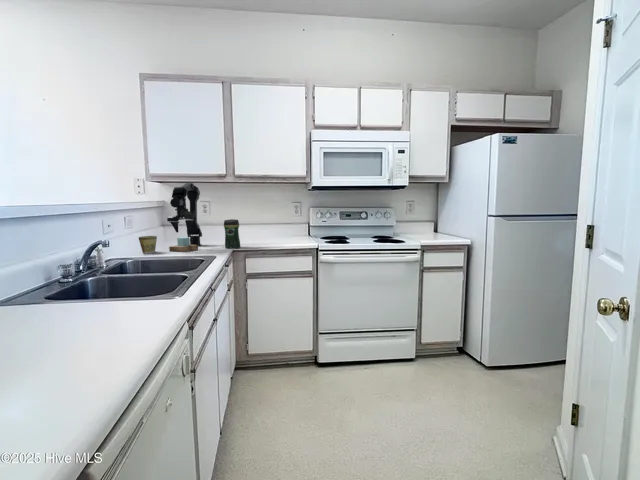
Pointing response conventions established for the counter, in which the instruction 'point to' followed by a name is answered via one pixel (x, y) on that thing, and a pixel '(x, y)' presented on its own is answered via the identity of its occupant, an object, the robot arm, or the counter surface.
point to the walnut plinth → (183, 248)
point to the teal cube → (183, 241)
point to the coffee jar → (231, 233)
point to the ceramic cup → (148, 244)
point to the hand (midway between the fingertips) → (183, 231)
